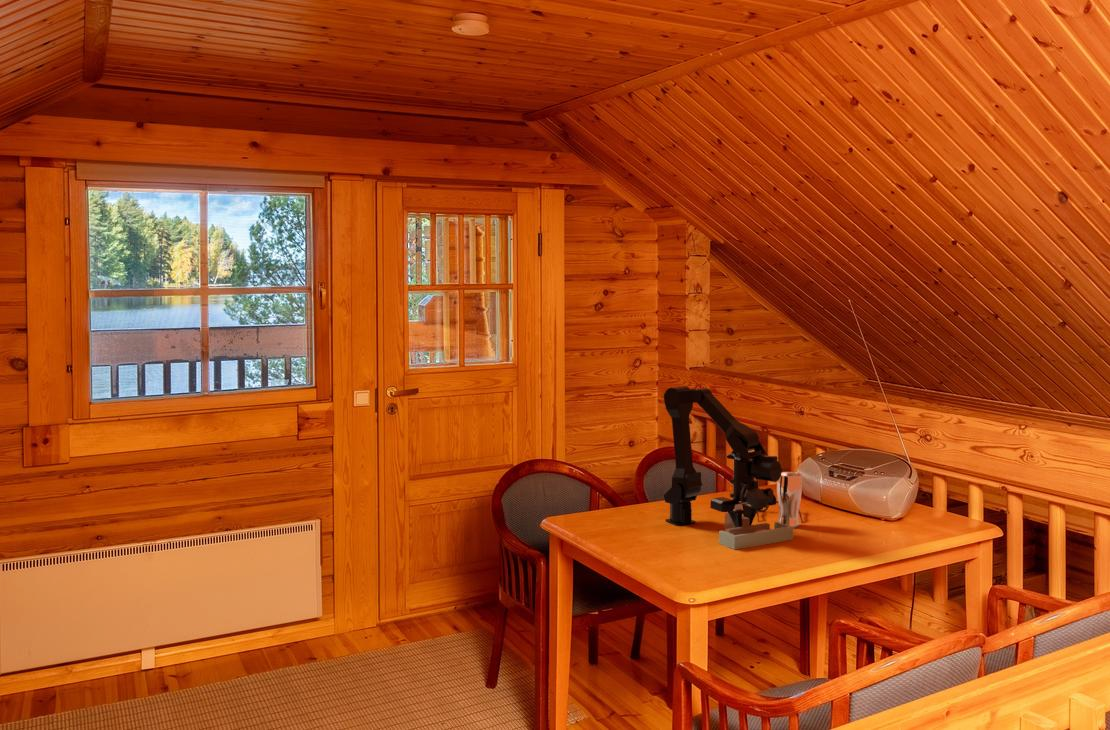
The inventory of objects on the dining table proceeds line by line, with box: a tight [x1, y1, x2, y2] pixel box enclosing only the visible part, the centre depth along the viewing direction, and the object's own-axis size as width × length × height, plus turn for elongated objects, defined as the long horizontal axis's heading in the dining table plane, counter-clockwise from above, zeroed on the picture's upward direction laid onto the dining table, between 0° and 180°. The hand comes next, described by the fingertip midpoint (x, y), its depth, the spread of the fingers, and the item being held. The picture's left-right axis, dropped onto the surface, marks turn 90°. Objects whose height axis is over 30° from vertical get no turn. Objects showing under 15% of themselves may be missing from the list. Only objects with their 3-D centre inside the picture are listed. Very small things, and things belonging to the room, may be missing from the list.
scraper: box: [724, 512, 771, 535], centre depth 275 cm, size 9×14×5 cm, turn 118°
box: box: [718, 521, 794, 551], centre depth 268 cm, size 6×20×4 cm, turn 118°
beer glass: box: [776, 471, 803, 529], centre depth 284 cm, size 7×7×15 cm
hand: (743, 532), depth 273 cm, fingers closed on scraper, 2 cm apart
